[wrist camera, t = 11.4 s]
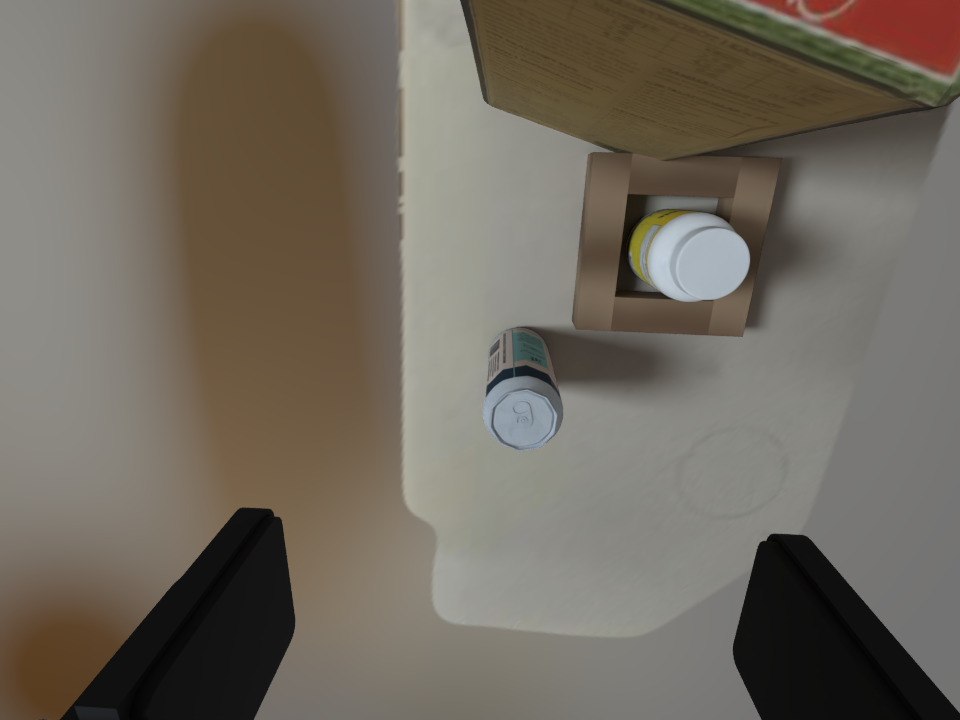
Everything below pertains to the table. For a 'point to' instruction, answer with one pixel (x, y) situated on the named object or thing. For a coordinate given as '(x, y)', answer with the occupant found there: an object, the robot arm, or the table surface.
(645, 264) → the supplement bottle
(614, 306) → the wooden frame
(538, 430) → the beer can
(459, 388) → the table surface
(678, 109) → the food packaging
